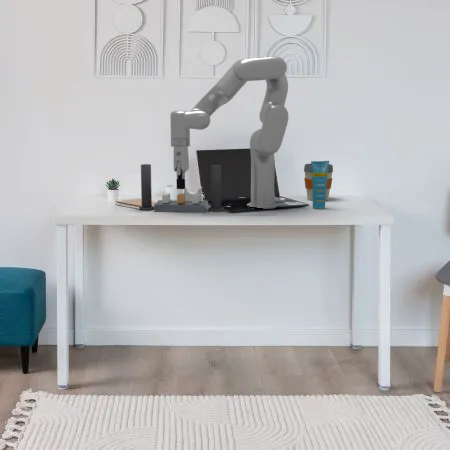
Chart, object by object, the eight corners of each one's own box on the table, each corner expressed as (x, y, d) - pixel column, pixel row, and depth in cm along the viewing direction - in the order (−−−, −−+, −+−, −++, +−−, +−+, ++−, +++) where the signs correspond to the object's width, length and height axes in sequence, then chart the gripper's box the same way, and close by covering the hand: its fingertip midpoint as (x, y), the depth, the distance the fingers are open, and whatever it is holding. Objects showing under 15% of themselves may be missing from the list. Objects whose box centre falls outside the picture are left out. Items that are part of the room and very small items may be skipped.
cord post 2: (224, 209, 310) (224, 164, 306) (222, 211, 304) (222, 166, 300) (209, 209, 310) (209, 164, 307) (207, 211, 304) (207, 166, 301)
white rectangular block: (170, 201, 311) (170, 193, 310) (168, 203, 306) (168, 195, 305) (164, 201, 311) (164, 193, 310) (162, 203, 306) (162, 195, 305)
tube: (312, 209, 309) (313, 161, 305) (308, 207, 314) (309, 160, 310) (329, 208, 311) (331, 161, 307) (325, 206, 315) (326, 159, 312)
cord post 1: (155, 208, 312) (154, 164, 309) (152, 210, 306) (151, 165, 303) (140, 208, 313) (139, 163, 309) (137, 210, 307) (136, 165, 304)
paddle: (199, 201, 309) (199, 193, 309) (198, 203, 305) (198, 195, 304) (193, 201, 310) (193, 193, 309) (192, 203, 305) (192, 195, 304)
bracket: (201, 205, 320) (201, 187, 318) (184, 205, 320) (184, 187, 319) (204, 201, 332) (204, 183, 331) (187, 200, 333) (187, 183, 331)
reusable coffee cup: (299, 200, 331) (300, 165, 328) (308, 196, 343) (308, 162, 340) (328, 202, 326) (328, 167, 324) (335, 198, 338) (336, 164, 335)
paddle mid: (185, 201, 310) (184, 193, 309) (183, 203, 305) (183, 195, 305) (179, 201, 310) (179, 193, 310) (177, 203, 305) (177, 195, 305)
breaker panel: (207, 208, 312) (207, 200, 312) (204, 212, 302) (204, 204, 302) (158, 207, 314) (158, 199, 314) (154, 211, 304) (154, 203, 304)
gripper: (187, 144, 295) (187, 191, 299) (192, 141, 310) (192, 186, 313) (167, 144, 296) (168, 191, 299) (173, 140, 311) (174, 186, 314)
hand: (180, 188), depth 306 cm, fingers closed
